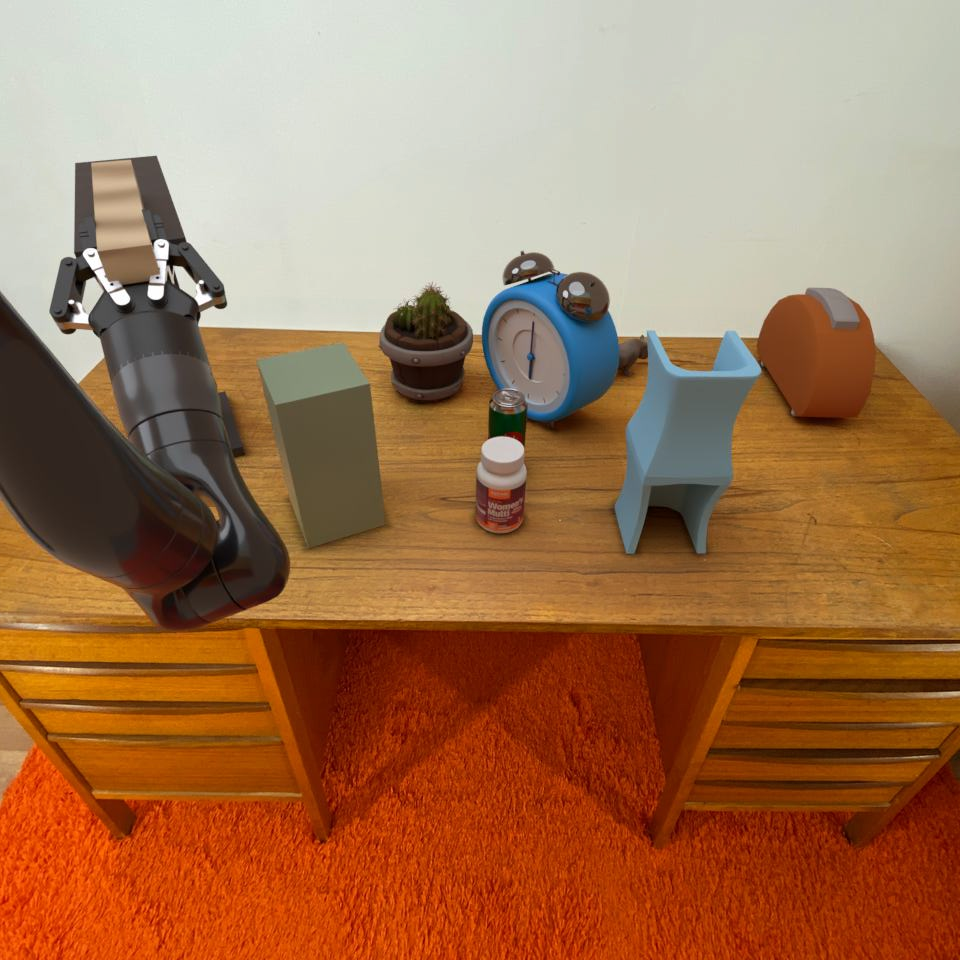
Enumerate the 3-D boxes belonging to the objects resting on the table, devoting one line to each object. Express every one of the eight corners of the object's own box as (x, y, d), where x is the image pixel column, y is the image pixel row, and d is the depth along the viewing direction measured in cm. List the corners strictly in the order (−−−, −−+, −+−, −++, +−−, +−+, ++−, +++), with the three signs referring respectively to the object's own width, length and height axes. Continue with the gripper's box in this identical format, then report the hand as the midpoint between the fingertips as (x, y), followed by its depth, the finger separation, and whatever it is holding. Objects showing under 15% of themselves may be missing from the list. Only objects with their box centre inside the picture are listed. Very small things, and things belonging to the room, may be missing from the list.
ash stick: (162, 279, 54) (151, 244, 52) (110, 287, 53) (96, 250, 51) (139, 187, 73) (130, 159, 71) (100, 191, 72) (90, 162, 70)
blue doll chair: (684, 499, 86) (735, 329, 70) (706, 553, 78) (768, 377, 62) (611, 500, 86) (646, 329, 69) (626, 554, 78) (668, 376, 62)
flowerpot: (377, 371, 110) (365, 257, 97) (463, 361, 113) (463, 249, 100) (389, 418, 99) (377, 297, 86) (484, 406, 102) (486, 286, 89)
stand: (257, 492, 86) (185, 237, 64) (178, 513, 82) (73, 252, 60) (219, 372, 109) (156, 155, 87) (156, 385, 106) (74, 162, 84)
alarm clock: (478, 391, 106) (480, 250, 91) (520, 371, 111) (529, 235, 95) (568, 448, 94) (588, 298, 79) (611, 424, 99) (637, 278, 84)
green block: (386, 524, 81) (370, 383, 68) (308, 548, 78) (274, 404, 64) (362, 478, 88) (343, 341, 75) (289, 499, 85) (255, 359, 71)
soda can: (496, 454, 93) (499, 383, 85) (528, 463, 91) (534, 392, 83) (481, 473, 89) (482, 401, 82) (514, 484, 88) (518, 412, 80)
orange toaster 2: (854, 431, 98) (902, 332, 88) (796, 429, 99) (837, 330, 88) (799, 355, 116) (834, 265, 106) (750, 354, 116) (779, 264, 106)
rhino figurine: (660, 365, 113) (667, 334, 109) (601, 387, 107) (606, 356, 103) (643, 355, 115) (649, 325, 112) (585, 377, 110) (589, 345, 106)
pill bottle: (487, 540, 79) (489, 470, 72) (468, 509, 84) (468, 440, 76) (531, 527, 81) (537, 458, 74) (511, 497, 86) (515, 429, 78)
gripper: (249, 340, 51) (197, 176, 56) (48, 378, 46) (8, 195, 51) (257, 387, 58) (209, 237, 62) (82, 424, 53) (45, 259, 57)
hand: (119, 219), depth 57 cm, fingers closed on ash stick, 4 cm apart
